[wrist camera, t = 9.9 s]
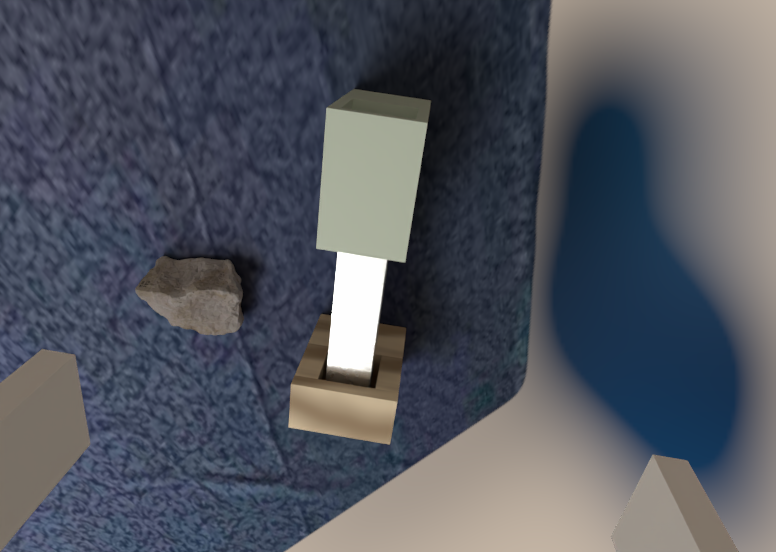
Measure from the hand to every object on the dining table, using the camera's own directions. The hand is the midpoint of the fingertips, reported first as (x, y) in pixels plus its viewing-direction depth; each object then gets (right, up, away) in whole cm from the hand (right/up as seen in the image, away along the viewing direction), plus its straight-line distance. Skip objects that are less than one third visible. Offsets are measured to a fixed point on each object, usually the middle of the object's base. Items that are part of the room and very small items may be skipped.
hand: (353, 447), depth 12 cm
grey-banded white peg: (-2, +2, +33) cm, 33 cm away
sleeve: (0, +15, +33) cm, 37 cm away
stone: (-18, +3, +41) cm, 45 cm away
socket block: (-2, -3, +42) cm, 42 cm away
